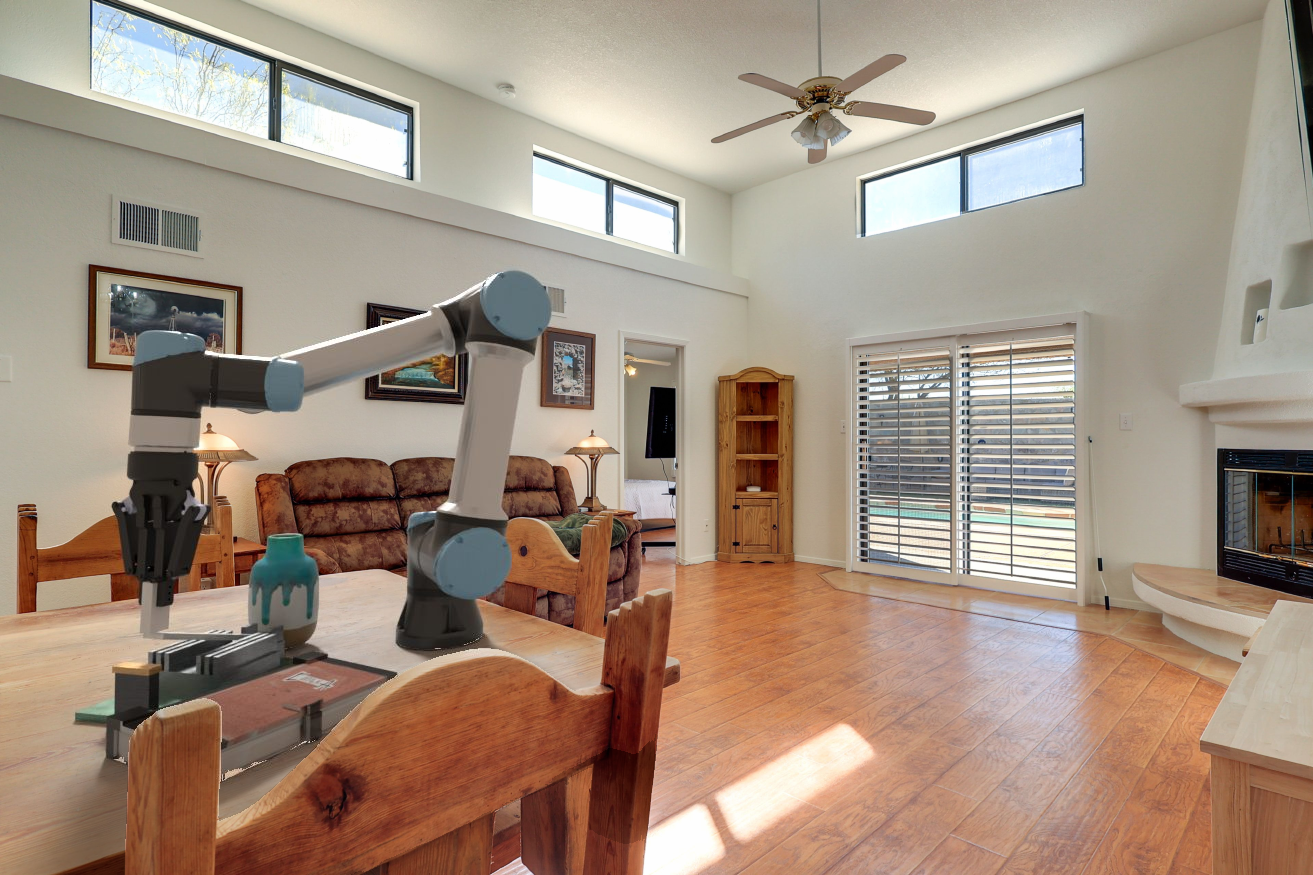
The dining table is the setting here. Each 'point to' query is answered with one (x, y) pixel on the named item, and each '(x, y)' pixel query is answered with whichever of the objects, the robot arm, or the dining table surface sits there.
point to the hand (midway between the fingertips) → (154, 630)
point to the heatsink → (190, 670)
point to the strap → (194, 636)
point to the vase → (285, 590)
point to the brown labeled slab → (271, 709)
